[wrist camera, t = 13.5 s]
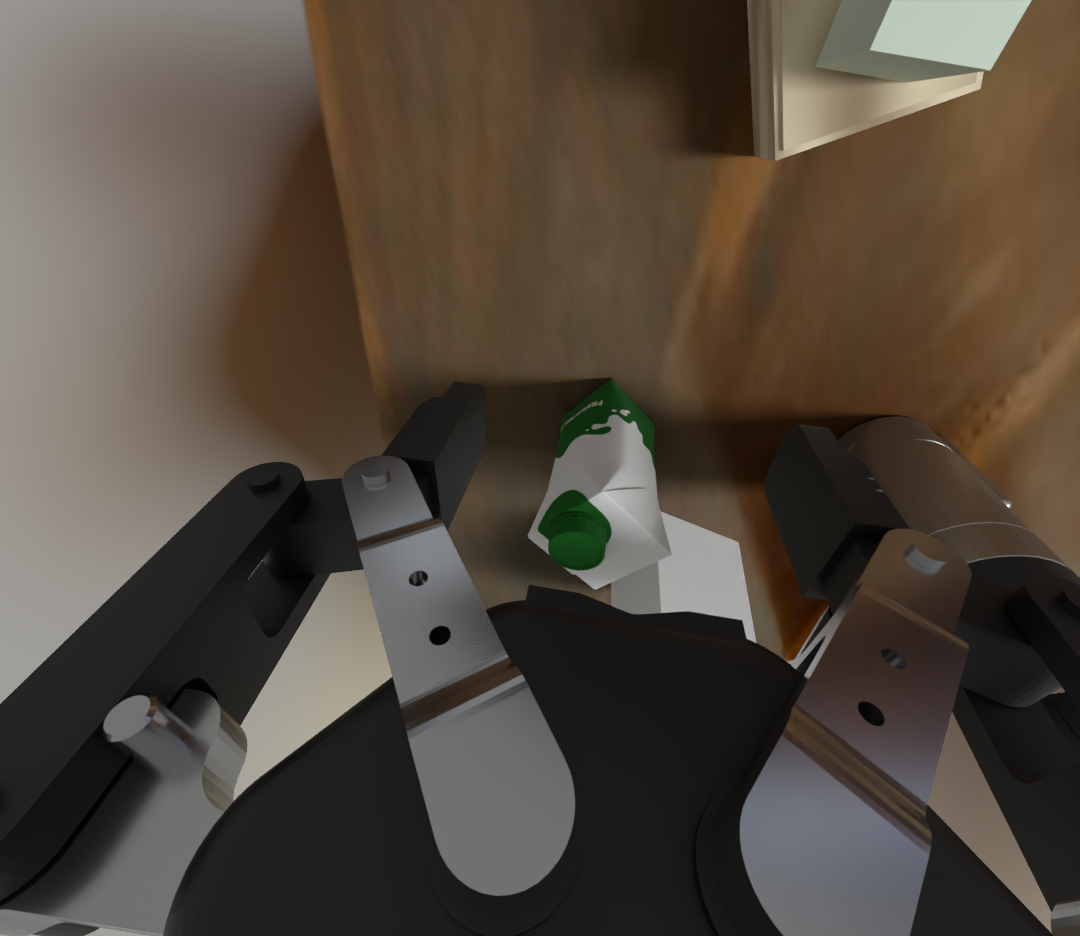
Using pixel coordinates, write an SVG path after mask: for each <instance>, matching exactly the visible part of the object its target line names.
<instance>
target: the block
mask: <svg viewBox="0 0 1080 936" xmlns="http://www.w3.org/2000/svg"><path fill="white" fill-rule="evenodd" d="M1030 2H1031V0H842V1H841V3H840V6H839V8H838V11H837V13H836V16H835V18H834V21H833V23H832V26H831V28H830V31H829V33H828V36H827V38H826V41H825V43H824V46H823V48H822V51H821V53H820V56H819V59H818V61H817V64H816V66H815V67H819V68H825V69H831V70H836V71H842V72H848V73H854V74H860V75H866V76H872V77H878V78H883V79H889V80H895V81H901V82H907V83H909V82H915V81H922V80H929V79H935V78H942V77H949V76H956V75H962V74H969V73H976V72H982V71H989V70H991V68H992V67H993V65H994V63H995V61H996V60H997V58H998V56H999V55H1000V53H1001V51H1002V50H1003V48H1004V46H1005V45H1006V43H1007V41H1008V39H1009V38H1010V36H1011V34H1012V33H1013V31H1014V29H1015V28H1016V26H1017V24H1018V22H1019V21H1020V19H1021V17H1022V16H1023V14H1024V12H1025V11H1026V9H1027V7H1028V6H1029V4H1030Z"/></svg>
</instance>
